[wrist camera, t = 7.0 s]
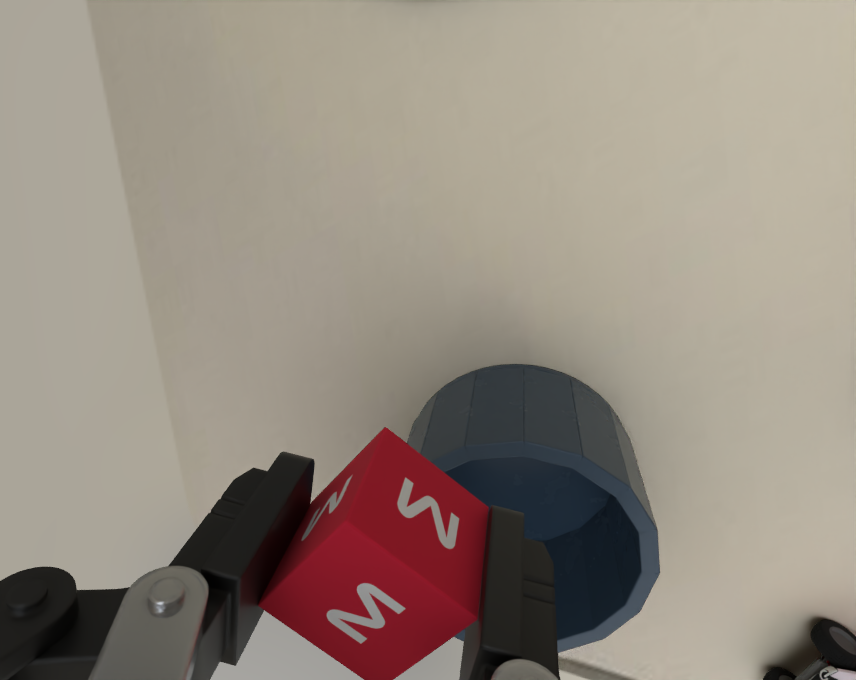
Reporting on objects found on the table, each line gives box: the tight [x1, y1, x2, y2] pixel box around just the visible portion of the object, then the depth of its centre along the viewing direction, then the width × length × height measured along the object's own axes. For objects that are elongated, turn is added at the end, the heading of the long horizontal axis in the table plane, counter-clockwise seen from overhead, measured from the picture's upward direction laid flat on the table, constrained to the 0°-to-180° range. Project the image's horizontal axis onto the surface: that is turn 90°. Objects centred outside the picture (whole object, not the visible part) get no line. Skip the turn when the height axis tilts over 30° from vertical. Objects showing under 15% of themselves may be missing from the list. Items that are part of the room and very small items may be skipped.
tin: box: [407, 364, 660, 653], centre depth 30 cm, size 13×13×8 cm
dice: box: [258, 427, 489, 680], centre depth 12 cm, size 3×3×3 cm
